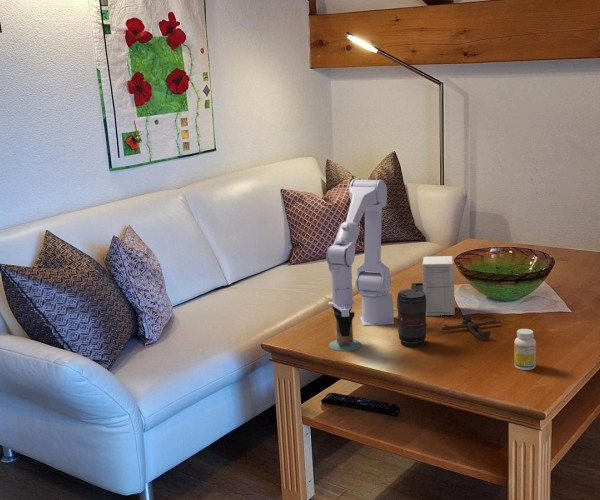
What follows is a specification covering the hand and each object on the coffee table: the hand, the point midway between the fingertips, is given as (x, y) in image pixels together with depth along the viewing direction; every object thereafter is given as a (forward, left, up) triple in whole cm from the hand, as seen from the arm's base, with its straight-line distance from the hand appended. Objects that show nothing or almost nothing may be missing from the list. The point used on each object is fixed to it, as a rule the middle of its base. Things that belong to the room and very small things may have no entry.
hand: (344, 333), depth 233 cm
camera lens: (-19, +2, -4) cm, 20 cm away
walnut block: (0, 0, -2) cm, 2 cm away
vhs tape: (-31, -44, -5) cm, 54 cm away
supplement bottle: (-44, +24, -4) cm, 50 cm away
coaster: (0, 0, -4) cm, 4 cm away
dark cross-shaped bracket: (-38, -4, -4) cm, 38 cm away
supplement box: (-32, -24, -4) cm, 40 cm away
